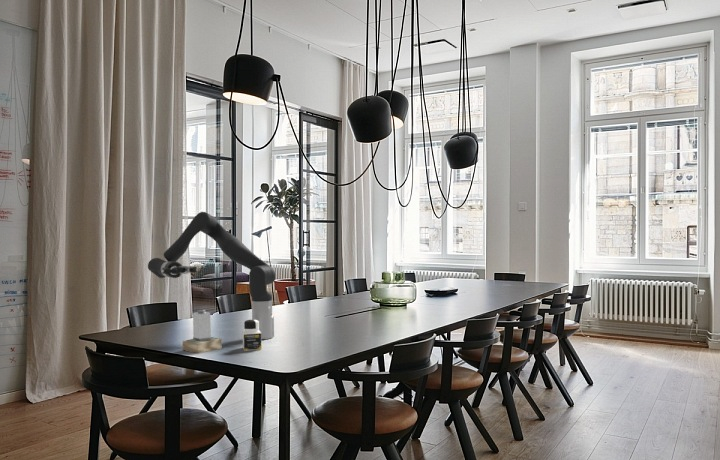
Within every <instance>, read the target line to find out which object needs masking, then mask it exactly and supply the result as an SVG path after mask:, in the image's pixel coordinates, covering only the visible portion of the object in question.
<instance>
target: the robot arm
mask: <svg viewBox="0 0 720 460" xmlns="http://www.w3.org/2000/svg"><path fill="white" fill-rule="evenodd" d="M200 232H202V233H203V234H205V235H207V236H208V237H210V238H211V239H212V240H213V241H215V242H216V244H217V246H218V247H219V248H220V250H221V251H222V253H223V254H225V256H227V258H229V259H230V260H231V261H233V262H234V263H237V264H238V265H241V266H243V267H245V268H247V269H248V270H249V274H248V287H249V295H250V298H251V320H258V321H259V330H260V332H261V340H269V339H272V338H274V337H275V318H274V317H275V316H273V295H272V293H270V292H268V290H267V286H268V285H270V284H273V283H275V280H276V272H275V270H274V269H273V267H272V266H270V264H268V263H267V262H265V261H264V260H262V259H261V258H259V256H257V255H256V254H255V253H254V252H253V251H252V250H251V249H249V248H248V247H247V246H246V245H245V244H244V243H243V242H242V241H240V239H238V238H237V237H236V236H235V235H234V234H232V233H230V232H229V231H228V230H226V229H225V228H224V227H223V226H222V225H221V223H220V222H219V221H218V219H216V217H214V216H213V215H212V214H210V213H208V212H206V211H200V212H198V213H197V214H196V215H195V216H194V217H193V219H192V220H191V221H190V222H189V224H188V225H187V226H186V228H185V229H184V231H182V233H181V235H180V236H179V237H178V238H177V239H176V240H175V241H174V243H172V244H171V245H170V246H169V247H168V248H167V249H166V250H165V251H164V252H163V258H164V259H165V260H163V259H162V258H159V257H154V258H152V259H150V260H149V261H148V263H147V269H148V271H149V272H151V273H153V274H154V275H155V276H156V277H157V278H159V279H164V278H172V279H177V278H179V277H181V276H182V275H189V274H190V273H191V274H195V273H197V266H189V265H182V264H181V263H180V262H178V260H180V258H181V257H182V256H183V255H185V253H186V252H187V251H188V248H189V247H190V244H191V242H192V240H193V239H194V238H195V237H196V235H197V234H199V233H200Z"/></svg>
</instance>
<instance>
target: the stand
mask: <svg viewBox="0 0 720 460" xmlns="http://www.w3.org/2000/svg"><path fill="white" fill-rule="evenodd" d="M222 346H223V345H222V338H220V337H214V336H213V337H211V340H204V341H198V340H195V339H193V338H191V339H185V340H183V341H182V351H183V350H186V351H185V352H187V351H191V352H190V353H193V352H196V353H195V354H201V352H202V353H206V351H207V352H211V351H216V350H220V349H222Z"/></svg>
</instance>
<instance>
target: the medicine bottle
mask: <svg viewBox="0 0 720 460" xmlns="http://www.w3.org/2000/svg"><path fill="white" fill-rule="evenodd" d="M243 326H244V330H243V331H242V349H243V351H244V352H248V351H261V350H262V339H261V332H260V330H259V321H258V320H252V319H247V320H244V325H243Z"/></svg>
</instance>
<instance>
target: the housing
mask: <svg viewBox="0 0 720 460" xmlns="http://www.w3.org/2000/svg"><path fill="white" fill-rule="evenodd" d="M192 328H193V329H192V335H193V337H192V339H195V340H198V341H204V340H211V312H208V311H206V309H200V310H197V312H196V311H195V312H192Z"/></svg>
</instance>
